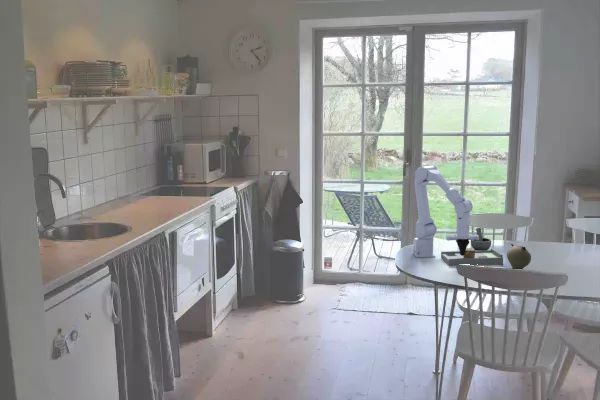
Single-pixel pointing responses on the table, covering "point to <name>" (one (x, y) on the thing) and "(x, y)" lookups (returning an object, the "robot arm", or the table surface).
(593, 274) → the table surface
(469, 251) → the block
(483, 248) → the mortar and pestle
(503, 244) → the table surface
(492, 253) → the trap lane
